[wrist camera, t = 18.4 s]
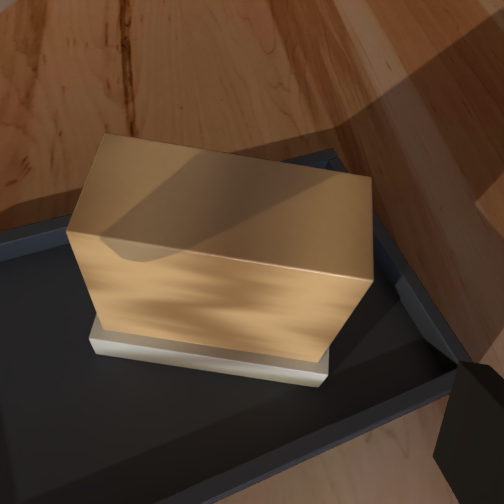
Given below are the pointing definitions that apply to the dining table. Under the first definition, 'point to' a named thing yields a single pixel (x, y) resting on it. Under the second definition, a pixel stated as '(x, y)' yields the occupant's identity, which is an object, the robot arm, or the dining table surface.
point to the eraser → (221, 258)
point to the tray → (191, 386)
